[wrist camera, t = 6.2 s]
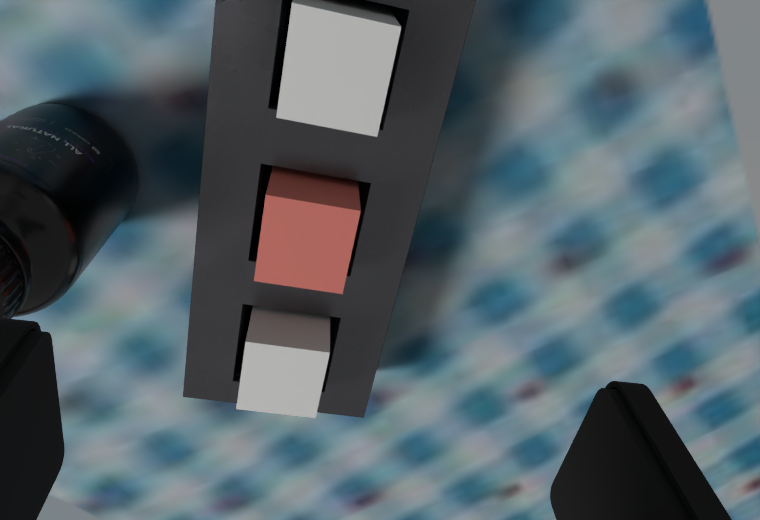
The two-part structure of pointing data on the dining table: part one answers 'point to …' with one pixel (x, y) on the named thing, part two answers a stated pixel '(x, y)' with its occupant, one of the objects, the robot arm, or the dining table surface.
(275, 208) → the button
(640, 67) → the dining table surface
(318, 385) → the button
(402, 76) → the push button control box
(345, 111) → the button
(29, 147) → the supplement bottle
